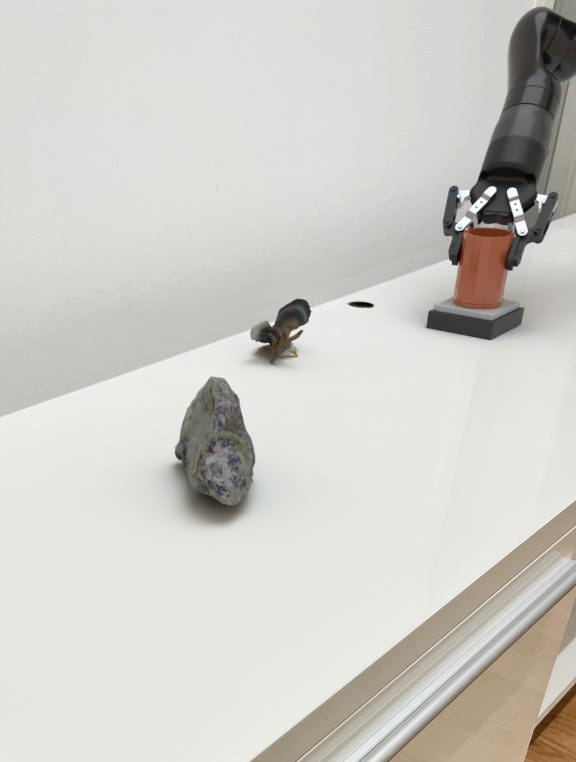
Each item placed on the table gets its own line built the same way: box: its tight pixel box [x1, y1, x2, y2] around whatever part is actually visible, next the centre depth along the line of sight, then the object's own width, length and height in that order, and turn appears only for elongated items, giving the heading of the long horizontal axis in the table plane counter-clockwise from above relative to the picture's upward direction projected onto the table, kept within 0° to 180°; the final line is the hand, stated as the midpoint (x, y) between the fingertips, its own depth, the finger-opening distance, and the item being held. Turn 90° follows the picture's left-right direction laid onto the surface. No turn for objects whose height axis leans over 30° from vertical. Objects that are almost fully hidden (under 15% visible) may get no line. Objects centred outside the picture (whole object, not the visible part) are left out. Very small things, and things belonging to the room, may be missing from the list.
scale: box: [425, 296, 525, 340], centre depth 138 cm, size 9×9×3 cm
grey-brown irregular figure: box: [249, 298, 312, 364], centre depth 129 cm, size 8×7×9 cm
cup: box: [452, 226, 515, 309], centre depth 135 cm, size 6×6×9 cm
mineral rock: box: [174, 375, 256, 506], centre depth 94 cm, size 13×11×10 cm
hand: (481, 264), depth 133 cm, fingers closed on cup, 6 cm apart
